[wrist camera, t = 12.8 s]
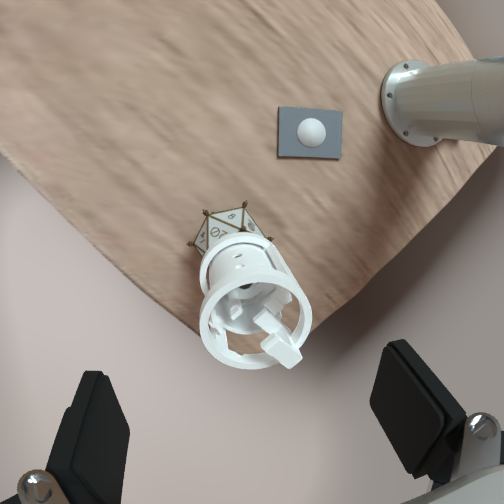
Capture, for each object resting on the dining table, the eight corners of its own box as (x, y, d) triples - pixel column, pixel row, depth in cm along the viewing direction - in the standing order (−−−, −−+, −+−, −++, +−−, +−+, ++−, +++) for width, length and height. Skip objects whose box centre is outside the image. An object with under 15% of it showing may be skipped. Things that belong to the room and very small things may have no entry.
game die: (212, 230, 44) (160, 258, 36) (239, 179, 39) (185, 198, 31) (262, 274, 42) (219, 312, 34) (297, 225, 37) (255, 257, 29)
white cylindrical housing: (235, 294, 34) (256, 395, 20) (185, 251, 32) (174, 340, 18) (284, 248, 33) (338, 330, 19) (236, 200, 31) (263, 258, 17)
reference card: (341, 111, 37) (342, 111, 36) (339, 158, 39) (341, 158, 38) (278, 106, 36) (279, 106, 35) (277, 155, 38) (278, 156, 37)
